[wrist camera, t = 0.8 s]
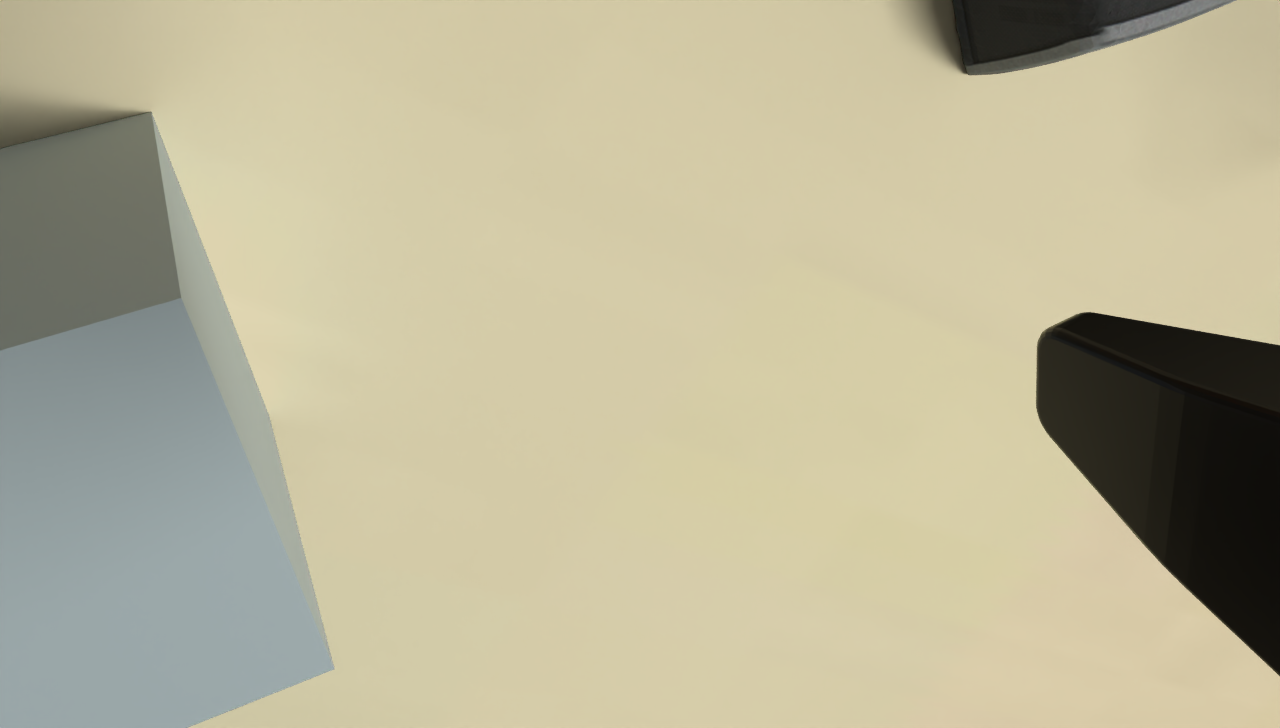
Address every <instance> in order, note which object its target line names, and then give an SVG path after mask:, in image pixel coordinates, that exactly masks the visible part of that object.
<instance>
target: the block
mask: <svg viewBox="0 0 1280 728" xmlns="http://www.w3.org/2000/svg"><path fill="white" fill-rule="evenodd" d="M333 669H334V665H333V661H332V657H331V654H330V650H329V646H328V642H327V638H326V634H325V630H324V626H323V623H322V619H321V615H320V611H319V607H318V603H317V599H316V595H315V592H314V588H313V584H312V580H311V576H310V572H309V568H308V564H307V561H306V557H305V553H304V549H303V545H302V541H301V537H300V534H299V530H298V526H297V522H296V518H295V514H294V510H293V506H292V503H291V499H290V495H289V491H288V487H287V483H286V479H285V475H284V472H283V468H282V464H281V460H280V456H279V452H278V448H277V444H276V441H275V437H274V433H273V429H272V425H271V421H270V417H269V414H268V412H267V409H266V406H265V404H264V401H263V399H262V396H261V393H260V391H259V388H258V386H257V383H256V381H255V378H254V375H253V373H252V370H251V368H250V365H249V362H248V360H247V357H246V355H245V352H244V350H243V347H242V344H241V342H240V339H239V337H238V334H237V331H236V329H235V326H234V324H233V321H232V319H231V316H230V313H229V311H228V308H227V306H226V303H225V301H224V298H223V295H222V293H221V290H220V288H219V285H218V282H217V280H216V277H215V275H214V272H213V270H212V267H211V264H210V262H209V259H208V257H207V254H206V251H205V249H204V246H203V244H202V241H201V239H200V236H199V233H198V231H197V228H196V226H195V223H194V221H193V218H192V215H191V213H190V210H189V208H188V205H187V202H186V200H185V197H184V195H183V192H182V190H181V187H180V184H179V182H178V179H177V177H176V174H175V171H174V169H173V166H172V164H171V161H170V159H169V156H168V153H167V151H166V148H165V146H164V143H163V140H162V138H161V135H160V133H159V130H158V128H157V125H156V122H155V120H154V117H153V115H152V112H149V113H145V114H141V115H136V116H132V117H128V118H124V119H120V120H116V121H112V122H108V123H103V124H99V125H95V126H91V127H87V128H83V129H79V130H75V131H70V132H66V133H62V134H58V135H54V136H50V137H46V138H42V139H38V140H33V141H29V142H25V143H21V144H17V145H13V146H9V147H5V148H0V728H188V727H190V726H193V725H195V724H198V723H200V722H203V721H205V720H208V719H210V718H213V717H215V716H218V715H220V714H223V713H226V712H228V711H231V710H233V709H236V708H238V707H241V706H243V705H246V704H248V703H251V702H253V701H256V700H258V699H261V698H263V697H266V696H268V695H271V694H273V693H276V692H278V691H281V690H283V689H286V688H288V687H291V686H293V685H296V684H298V683H301V682H303V681H306V680H308V679H311V678H313V677H316V676H318V675H321V674H323V673H326V672H328V671H331V670H333Z"/></svg>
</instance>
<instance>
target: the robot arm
mask: <svg viewBox="0 0 1280 728" xmlns="http://www.w3.org/2000/svg"><path fill="white" fill-rule="evenodd" d="M1036 408H1037V412H1038V416H1039V419H1040V421H1041V424H1042V426H1043V427H1044V429H1045V431H1046V432H1047V433H1048V435H1049V436H1050V437H1051V438H1052V440H1053V441H1054V442H1055V443H1056V444H1057V445H1058V447H1059V448H1060V449H1061V450H1062V451H1063V452H1064V453H1065V455H1066V456H1067V457H1068V458H1069V459H1070V460H1071V461H1072V463H1073V464H1074V465H1075V466H1076V467H1077V468H1078V470H1079V471H1080V472H1081V473H1082V474H1083V475H1084V476H1085V478H1086V479H1087V480H1088V481H1089V482H1090V483H1091V485H1092V486H1093V487H1094V488H1095V489H1096V490H1097V491H1098V493H1099V494H1100V495H1101V496H1102V497H1103V498H1104V499H1105V501H1106V502H1107V503H1108V504H1109V505H1110V506H1111V508H1112V509H1113V510H1114V511H1115V512H1116V513H1117V514H1118V516H1119V517H1120V518H1121V519H1122V520H1123V521H1124V522H1125V524H1126V525H1127V526H1128V527H1129V528H1130V529H1131V531H1132V532H1133V533H1134V534H1135V535H1136V536H1137V537H1138V539H1139V540H1140V541H1141V542H1142V543H1143V544H1144V545H1145V547H1146V548H1147V549H1148V550H1149V551H1150V552H1151V553H1152V554H1153V555H1154V556H1155V557H1156V558H1157V559H1158V561H1159V562H1160V563H1161V564H1162V565H1163V566H1164V567H1165V568H1166V569H1167V570H1168V571H1169V572H1170V573H1171V574H1172V575H1173V576H1174V577H1175V578H1176V579H1177V580H1178V581H1179V582H1180V583H1181V584H1182V585H1183V586H1184V587H1185V588H1186V589H1188V590H1189V591H1190V592H1191V593H1192V594H1193V595H1194V596H1195V597H1196V598H1197V599H1198V600H1199V601H1200V602H1201V603H1202V604H1204V605H1205V606H1206V607H1207V608H1208V609H1209V610H1210V611H1211V612H1212V613H1213V614H1214V615H1215V616H1216V617H1217V618H1218V619H1219V620H1221V621H1222V622H1223V623H1224V624H1225V625H1226V626H1227V627H1228V628H1229V629H1230V630H1231V631H1232V632H1233V633H1234V634H1235V635H1237V636H1238V637H1239V638H1240V639H1241V640H1242V641H1243V642H1244V643H1245V644H1246V645H1247V646H1248V647H1249V648H1250V649H1251V650H1253V651H1254V652H1255V653H1256V654H1257V655H1258V656H1259V657H1260V658H1261V659H1262V660H1263V661H1264V662H1265V663H1266V664H1267V665H1268V666H1270V667H1271V668H1272V669H1273V670H1274V671H1275V672H1276V673H1277V674H1278V675H1279V676H1280V345H1275V344H1269V343H1263V342H1258V341H1252V340H1246V339H1240V338H1235V337H1229V336H1223V335H1218V334H1212V333H1206V332H1201V331H1195V330H1189V329H1184V328H1178V327H1172V326H1167V325H1161V324H1155V323H1149V322H1144V321H1138V320H1132V319H1127V318H1121V317H1115V316H1110V315H1104V314H1098V313H1091V312H1085V313H1080V314H1076V315H1074V316H1072V317H1070V318H1068V319H1066V320H1064V321H1062V322H1060V323H1057V324H1055V325H1053V326H1051V327H1049V328H1047V329H1046V330H1045V331H1044V332H1042V334H1041V336H1040V338H1039V340H1038V344H1037V379H1036Z"/></svg>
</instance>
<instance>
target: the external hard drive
mask: <svg viewBox="0 0 1280 728" xmlns="http://www.w3.org/2000/svg"><path fill="white" fill-rule="evenodd" d="M1233 1H1236V0H953V5H954V11H955V17H956V22H957V31H958V33H959V38H960V43H961V49H962V57H963V63H964V65H965V67H966V70H967V73H968V75H988V74H999V73H1006V72H1012V71H1018V70H1023V69H1029V68H1033V67H1038V66H1042V65H1046V64H1051V63H1055V62H1059V61H1062V60H1066V59H1070V58H1073V57H1076V56H1080V55H1083V54H1087V53H1090V52H1094V51H1097V50H1101V49H1104V48H1107V47H1111V46H1114V45H1117V44H1120V43H1123V42H1126V41H1130V40H1133V39H1136V38H1139V37H1142V36H1145V35H1148V34H1151V33H1154V32H1157V31H1160V30H1163V29H1165V28H1168V27H1171V26H1174V25H1176V24H1179V23H1182V22H1184V21H1187V20H1189V19H1192V18H1194V17H1197V16H1199V15H1202V14H1204V13H1207V12H1209V11H1212V10H1214V9H1217V8H1219V7H1221V6H1224V5H1226V4H1229V3H1231V2H1233Z"/></svg>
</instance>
